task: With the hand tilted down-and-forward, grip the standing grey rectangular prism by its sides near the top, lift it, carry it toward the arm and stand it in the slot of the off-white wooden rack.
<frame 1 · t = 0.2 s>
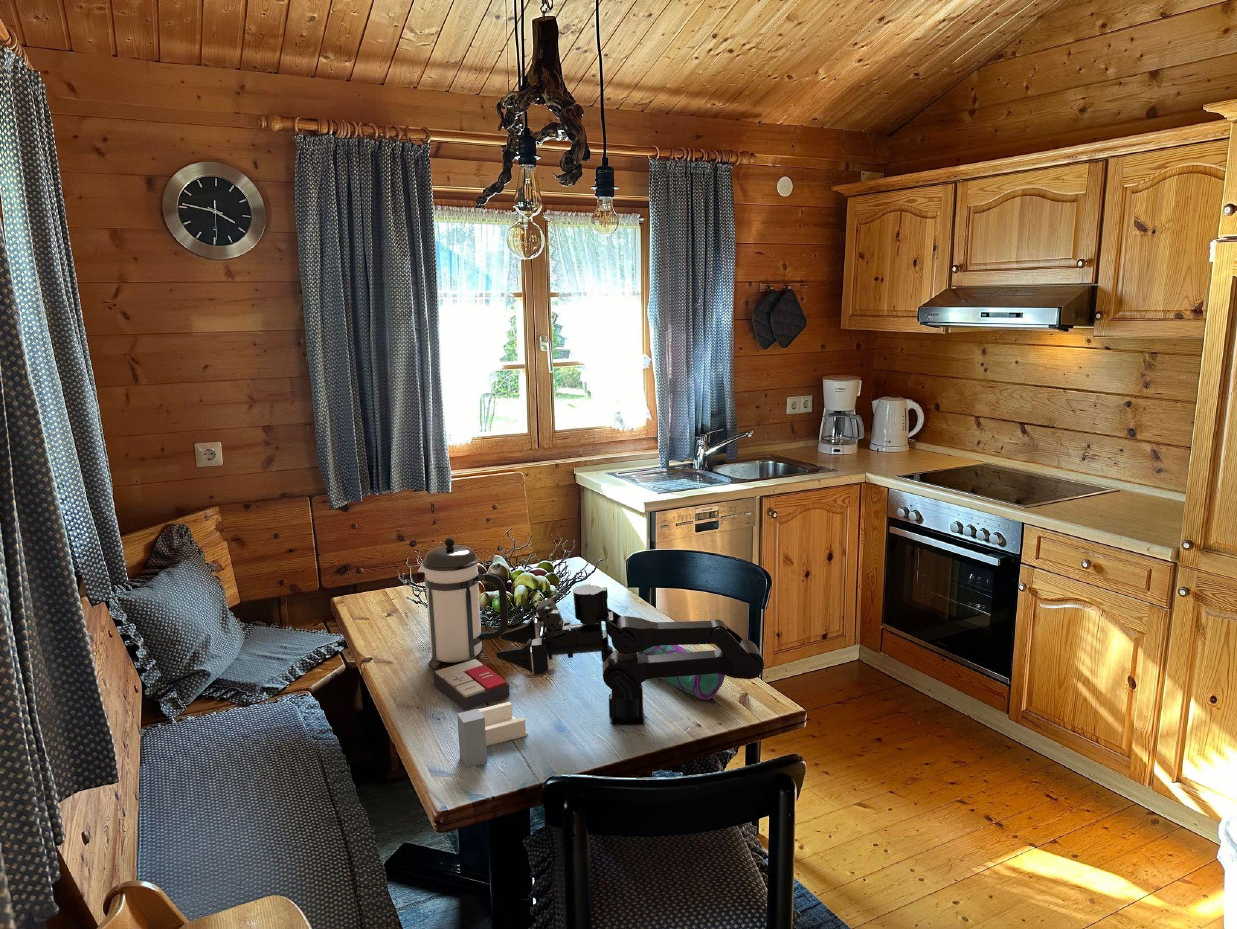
hand: (498, 645, 174), 17 cm above the table, tool horizontal, fingers open, 9 cm apart
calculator: (471, 693, 193), on the table
pencil case: (681, 685, 193), on the table
rack: (496, 732, 174), on the table
grey rectangular prism: (473, 760, 164), on the table
coffee press: (462, 659, 209), on the table
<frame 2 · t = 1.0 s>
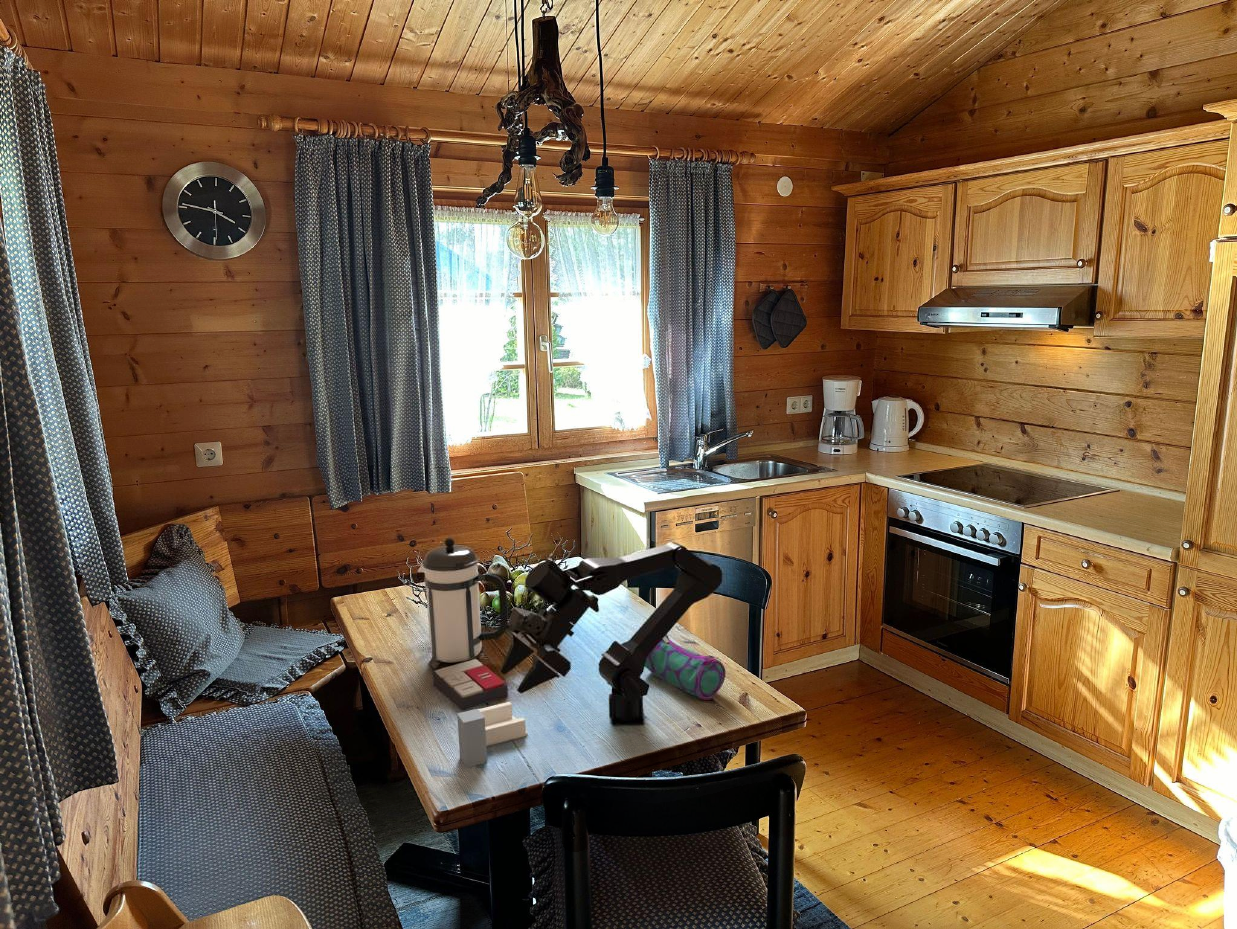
hand: (510, 682, 165), 14 cm above the table, tool tilted 45°, fingers open, 9 cm apart
nothing on the table moved.
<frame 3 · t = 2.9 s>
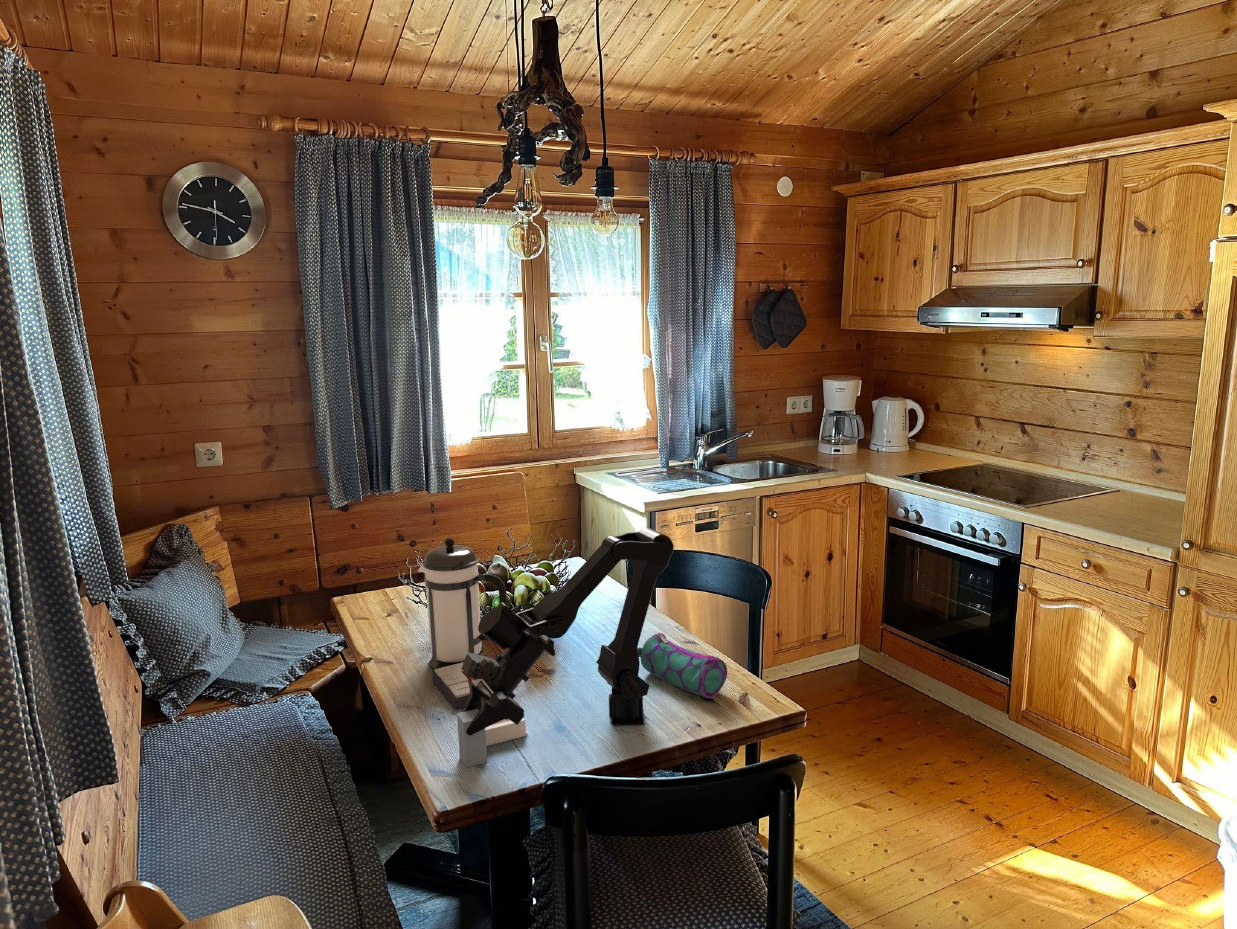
hand: (464, 729, 162), 7 cm above the table, tool tilted 45°, fingers closed on grey rectangular prism, 4 cm apart
grey rectangular prism: (473, 759, 164), on the table, touching gripper
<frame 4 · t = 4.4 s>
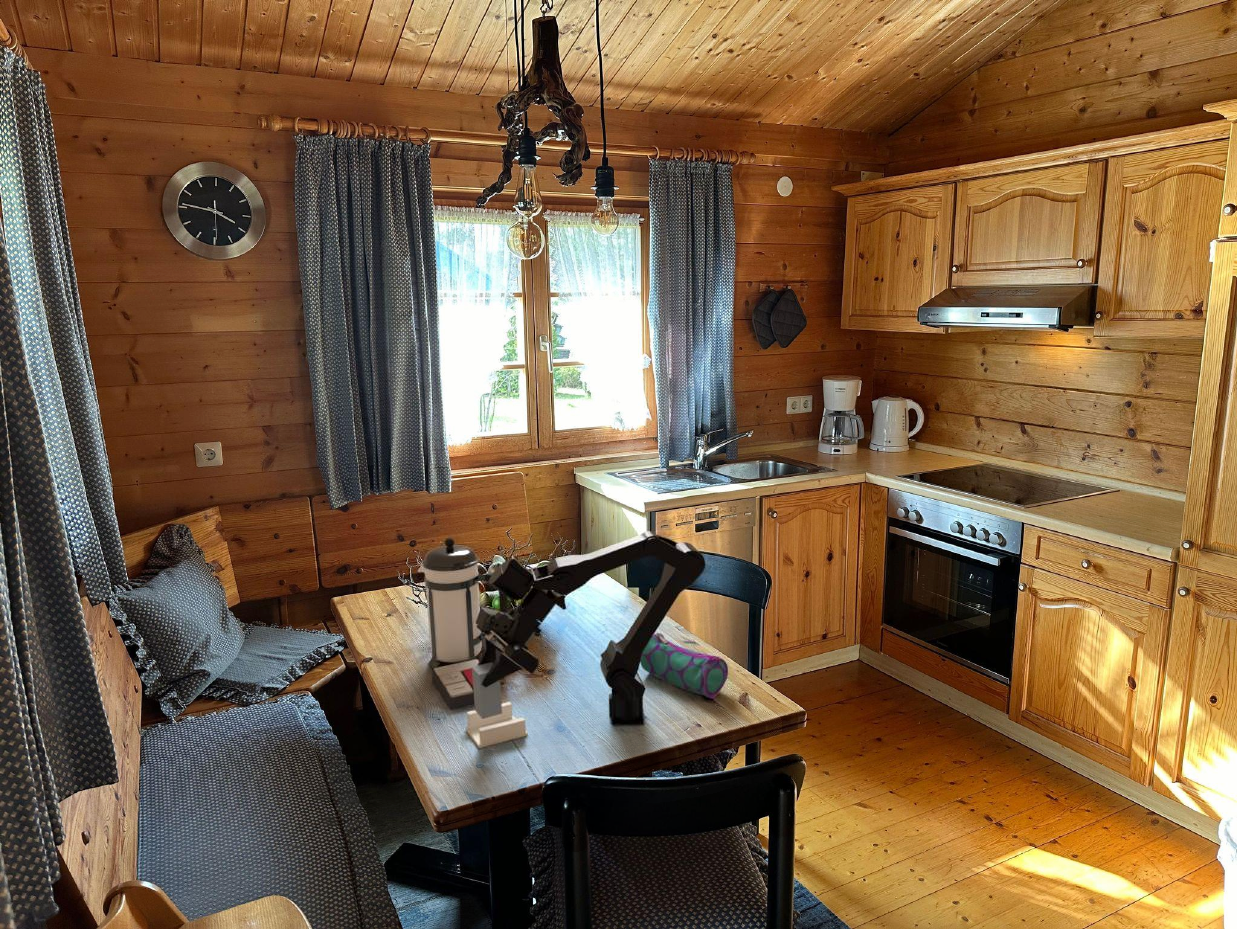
hand: (479, 681, 167), 13 cm above the table, tool tilted 45°, fingers closed on grey rectangular prism, 4 cm apart
grey rectangular prism: (488, 711, 169), point 7 cm above the table, touching gripper
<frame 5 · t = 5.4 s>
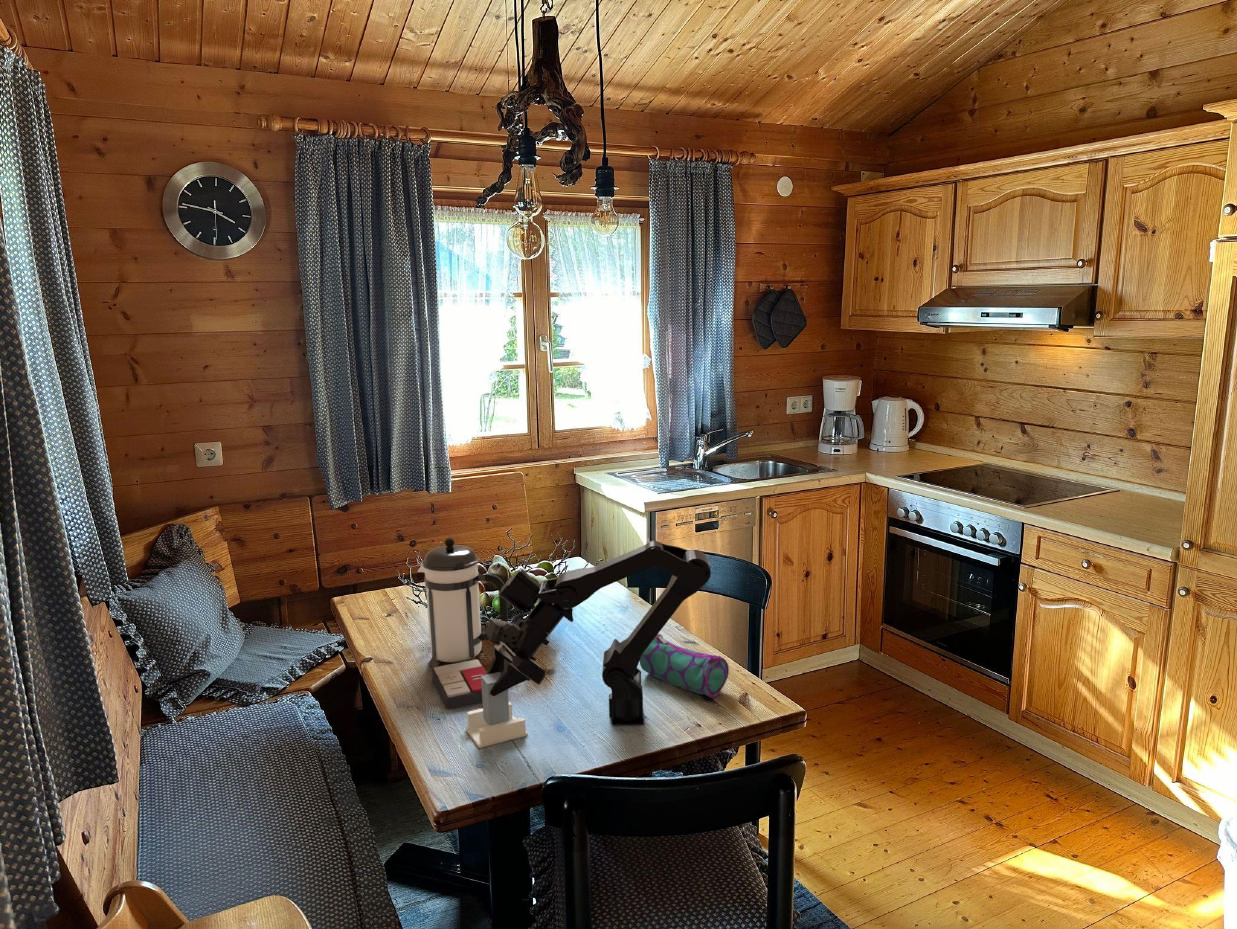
hand: (488, 690, 171), 9 cm above the table, tool tilted 45°, fingers closed on grey rectangular prism, 4 cm apart
grey rectangular prism: (496, 720, 173), point 3 cm above the table, touching gripper
when the fingers open (8 cm above the table, at t = 5.9 s): grey rectangular prism stays where it is, resting on rack.
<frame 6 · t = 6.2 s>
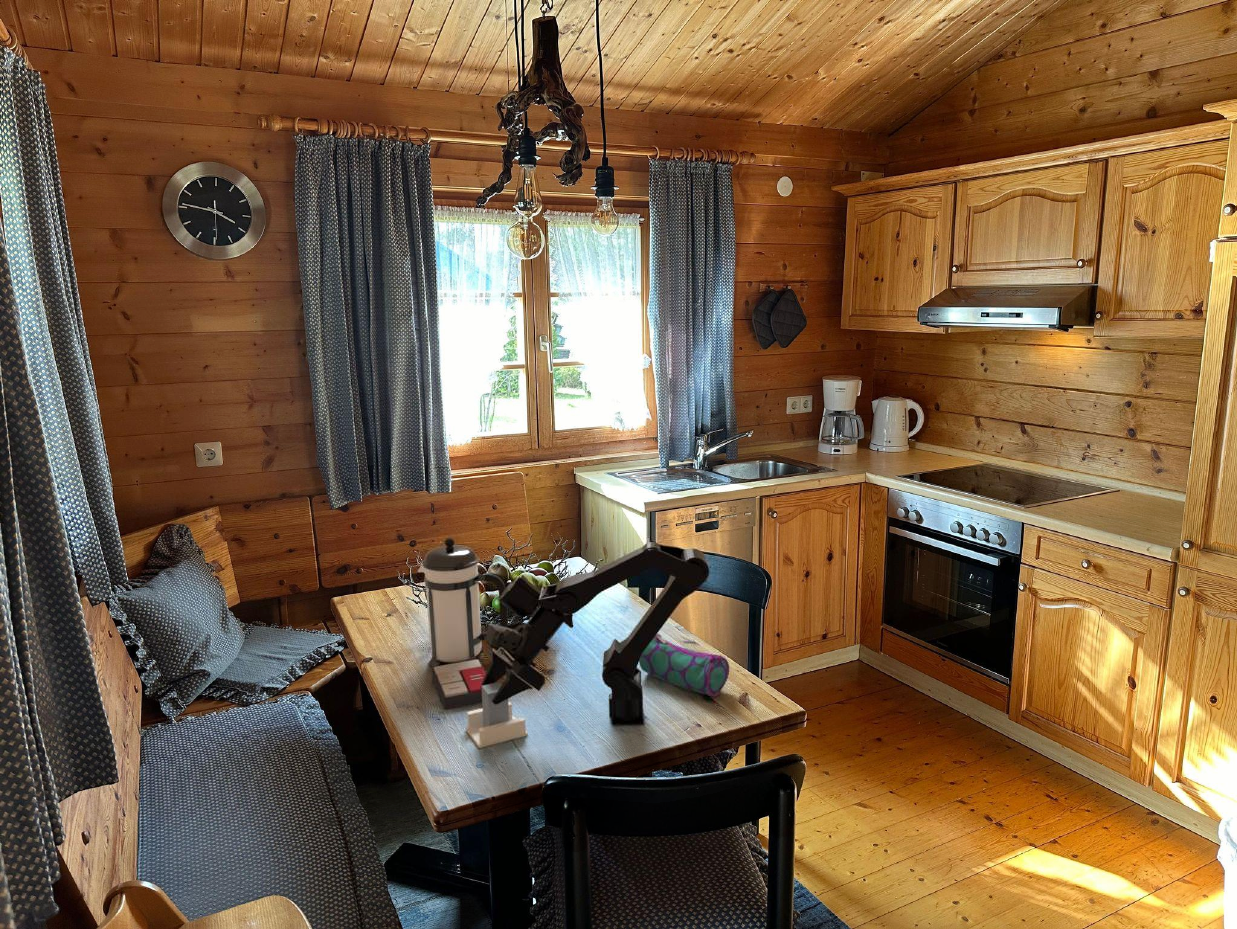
hand: (487, 696, 172), 8 cm above the table, tool tilted 45°, fingers open, 7 cm apart
grey rectangular prism: (496, 730, 174), point 1 cm above the table, touching rack
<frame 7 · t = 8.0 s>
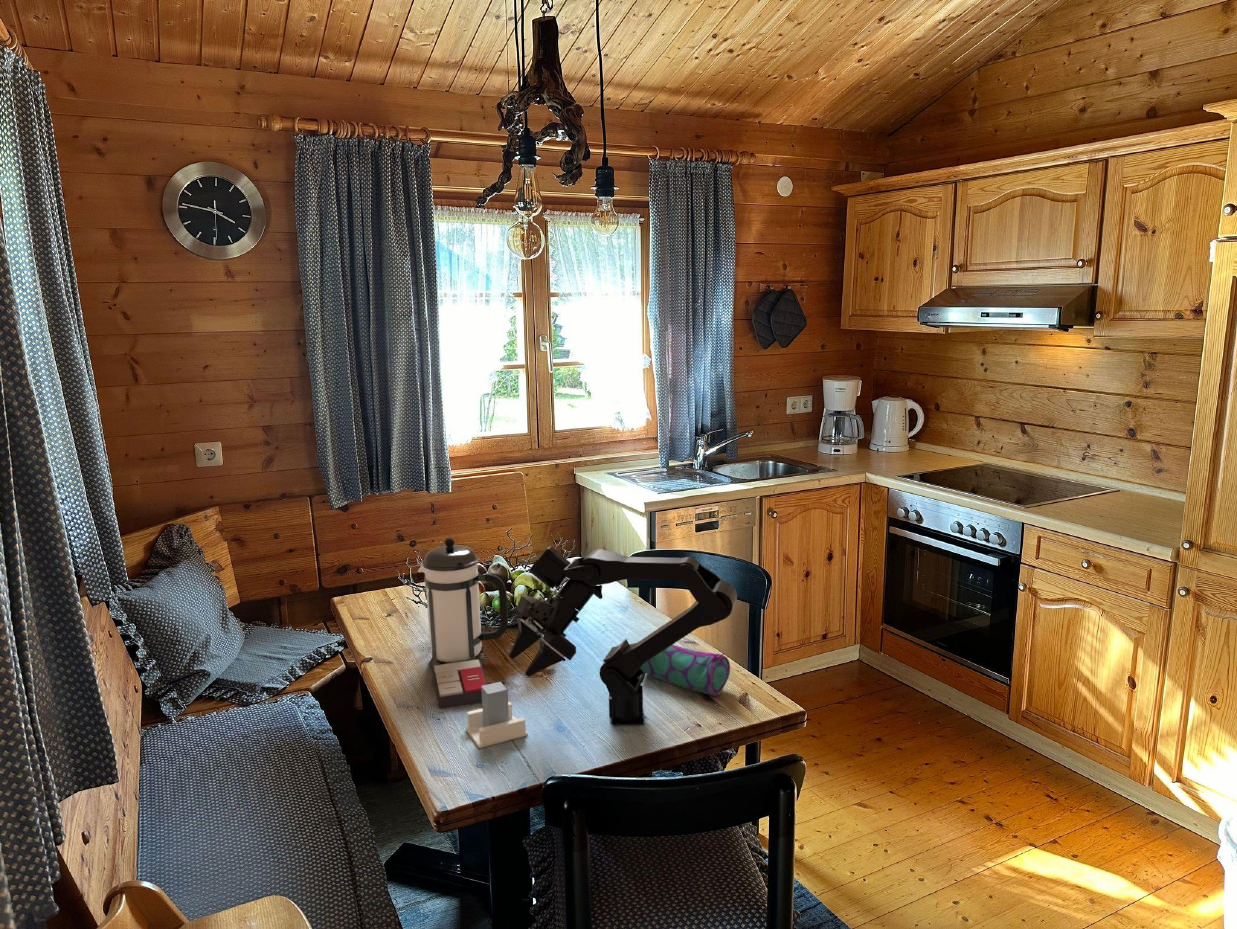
hand: (518, 666, 173), 13 cm above the table, tool tilted 45°, fingers open, 9 cm apart
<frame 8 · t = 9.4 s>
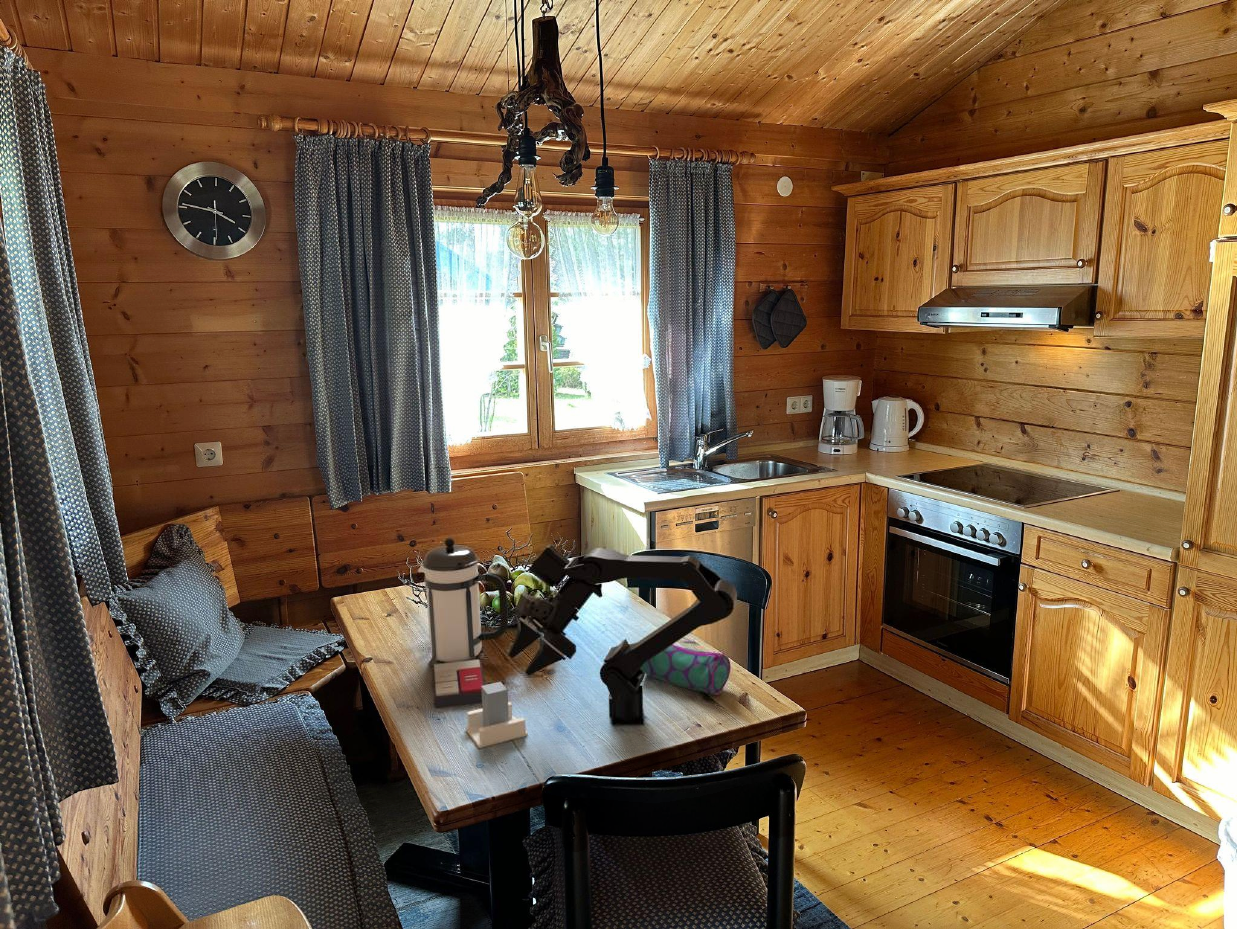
hand: (518, 665, 172), 14 cm above the table, tool tilted 45°, fingers open, 9 cm apart
at the end: grey rectangular prism inside the target area on the rack (0.0 cm from its centre), point 0.6 cm above the rack's base; grey rectangular prism tilted 0°; the gripper is holding nothing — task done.
